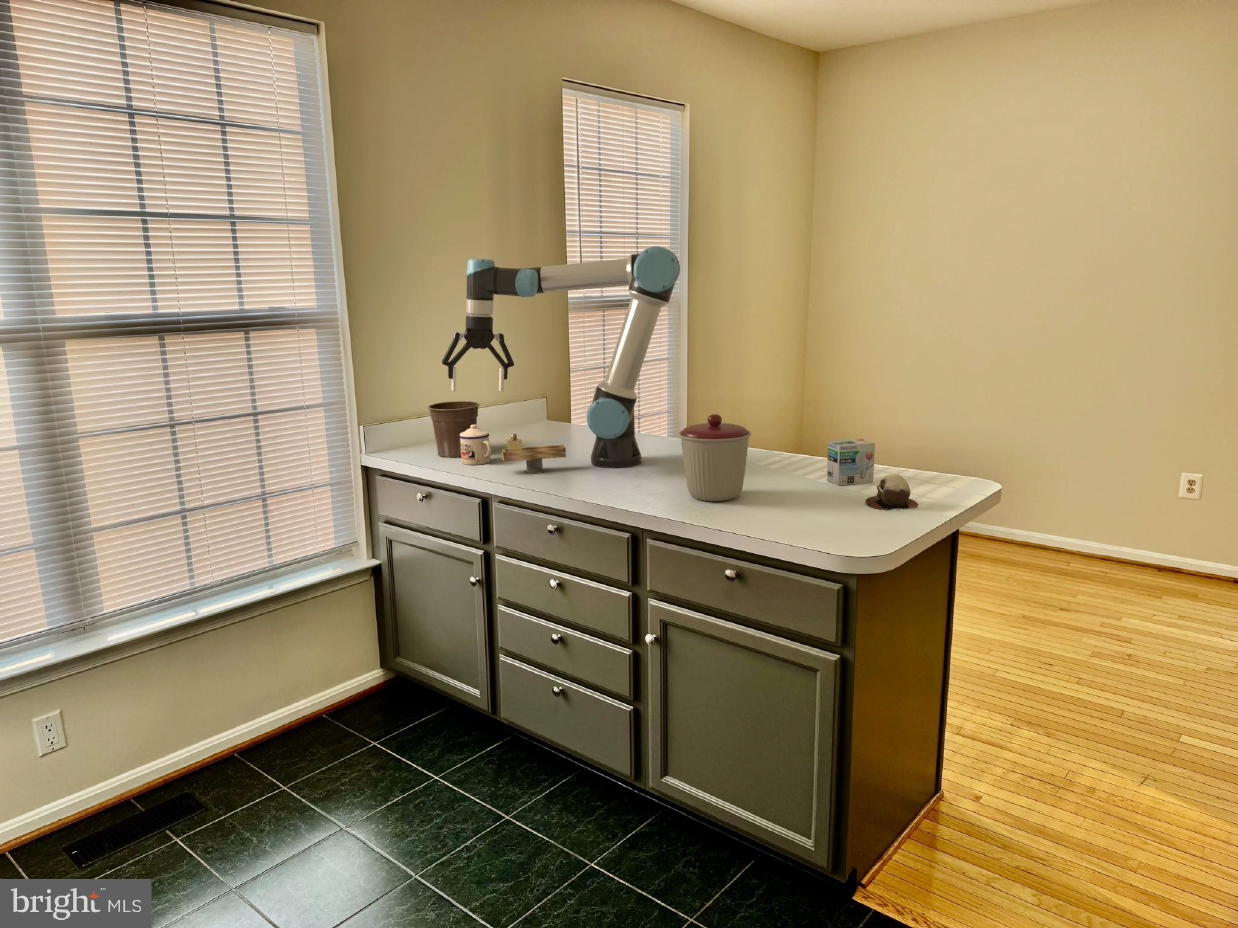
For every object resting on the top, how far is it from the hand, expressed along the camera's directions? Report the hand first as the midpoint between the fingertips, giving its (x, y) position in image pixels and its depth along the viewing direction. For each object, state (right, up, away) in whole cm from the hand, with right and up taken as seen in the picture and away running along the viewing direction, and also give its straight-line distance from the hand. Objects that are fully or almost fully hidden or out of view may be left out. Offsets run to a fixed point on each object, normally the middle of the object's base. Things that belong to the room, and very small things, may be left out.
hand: (477, 390), depth 251 cm
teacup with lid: (-3, -21, +19) cm, 28 cm away
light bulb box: (+102, -26, -17) cm, 106 cm away
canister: (+65, -29, -29) cm, 76 cm away
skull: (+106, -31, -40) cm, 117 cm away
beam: (+16, -23, +6) cm, 28 cm away
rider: (+10, -18, +4) cm, 21 cm away
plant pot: (-12, -18, +33) cm, 40 cm away
